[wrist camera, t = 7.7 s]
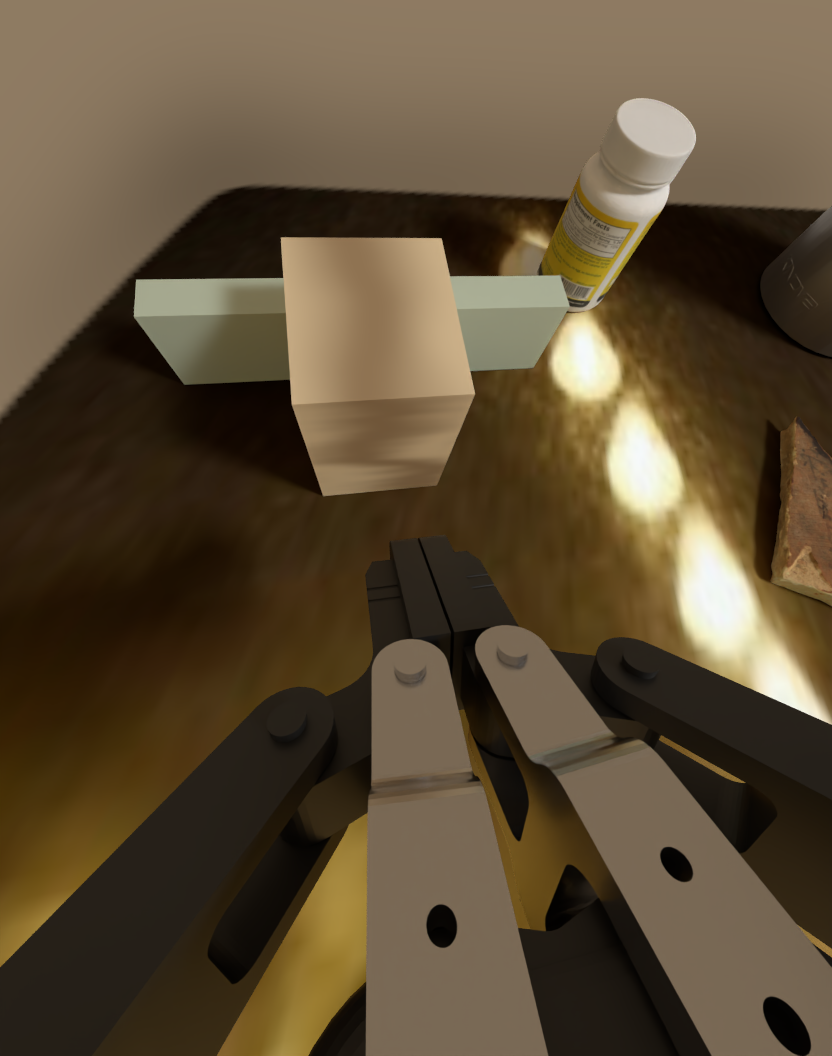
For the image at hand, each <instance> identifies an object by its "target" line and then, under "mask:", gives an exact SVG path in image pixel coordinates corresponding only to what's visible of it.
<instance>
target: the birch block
mask: <svg viewBox="0 0 832 1056" xmlns="http://www.w3.org/2000/svg"><path fill="white" fill-rule="evenodd" d="M281 247H282V263H283V278H284V293H285V308H286V323H287V339H288V354H289V369H290V384H291V400H292V407H293V410H294V412H295V415H296V418H297V421H298V424H299V427H300V430H301V433H302V436H303V439H304V442H305V444H306V447H307V450H308V453H309V456H310V459H311V462H312V465H313V468H314V471H315V473H316V476H317V479H318V482H319V485H320V488H321V491H322V494H323V496H329V495H339V494H350V493H361V492H371V491H382V490H393V489H403V488H414V487H425V486H435V485H437V483H438V481H439V479H440V476H441V474H442V471H443V469H444V467H445V464H446V462H447V460H448V457H449V455H450V452H451V450H452V448H453V445H454V443H455V441H456V438H457V436H458V433H459V431H460V429H461V426H462V424H463V421H464V419H465V417H466V414H467V412H468V410H469V407H470V405H471V402H472V400H473V398H474V395H475V391H474V387H473V382H472V377H471V373H470V368H469V364H468V359H467V354H466V350H465V345H464V340H463V336H462V331H461V326H460V322H459V317H458V312H457V308H456V303H455V298H454V294H453V289H452V285H451V280H450V275H449V271H448V266H447V261H446V257H445V252H444V247H443V243H442V238H281Z"/></svg>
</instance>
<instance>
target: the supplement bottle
mask: <svg viewBox="0 0 832 1056" xmlns="http://www.w3.org/2000/svg"><path fill="white" fill-rule="evenodd" d="M695 142H696V134H695V130H694V128H693V126H692V124H691V123H690V122H689V120H688V119H687V118H686V117H685V116H684V115H683V114H682V113H681V112H679V111H678V110H677V109H675V108H674V107H672V106H670V105H668V104H666V103H663V102H661V101H658V100H653V99H647V98H638V99H632V100H629V101H626V102H625V103H623V104H622V105H621V106H620V107H619V108H618V110H617V112H616V113H615V116H614V118H613V120H612V122H611V124H610V126H609V128H608V130H607V132H606V133H605V135H604V137H603V140H602V143H601V146H600V151H599V152H597V153H595V154H594V155H593V156H592V157H591V158H590V159H589V160H588V161H587V162H586V164H585V165H584V167H583V169H582V171H581V173H580V176H579V178H578V180H577V182H576V184H575V186H574V189H573V191H572V194H571V196H570V198H569V200H568V203H567V205H566V207H565V209H564V212H563V214H562V216H561V218H560V221H559V223H558V225H557V227H556V230H555V232H554V234H553V237H552V239H551V241H550V243H549V246H548V248H547V250H546V252H545V255H544V257H543V260H542V262H541V264H540V266H539V269H538V272H537V276H556V275H560V277H561V280H562V283H563V286H564V290H565V293H566V296H567V299H568V302H569V306H570V307H569V309H568V310H567V311H569V312H583V311H587V310H589V309H591V308H593V307H595V306H596V305H598V304H599V303H600V301H601V300H602V299H603V297H604V296H605V295H606V293H607V292H608V290H609V288H610V287H611V286H612V284H613V282H614V281H615V279H616V278H617V276H618V275H619V273H620V272H621V270H622V269H623V267H624V266H625V264H626V263H627V261H628V260H629V258H630V257H631V256H632V254H633V252H634V251H635V249H636V248H637V246H638V245H639V244H640V242H641V240H642V239H643V237H644V236H645V235H646V233H647V232H648V230H649V229H650V227H651V226H652V224H653V223H654V221H655V220H656V218H657V217H658V215H659V214H660V213H661V211H662V209H663V208H664V206H665V204H666V201H667V199H668V195H669V184H670V183H671V182H672V181H673V179H674V177H675V176H676V175H677V173H678V172H679V170H680V168H681V167H682V165H683V164H684V162H685V161H686V159H687V157H688V156H689V154H690V153H691V151H692V149H693V148H694V145H695Z"/></svg>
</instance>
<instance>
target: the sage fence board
mask: <svg viewBox="0 0 832 1056" xmlns="http://www.w3.org/2000/svg"><path fill="white" fill-rule="evenodd" d="M450 280H451V285H452V289H453V294H454V298H455V303H456V308H457V312H458V317H459V322H460V326H461V331H462V336H463V340H464V345H465V350H466V354H467V359H468V364H469V368H470V371H480V370H501V369H522V368H533V367H534V366H535V364H536V362H537V361H538V359H539V357H540V356H541V354H542V352H543V351H544V349H545V347H546V346H547V344H548V342H549V341H550V339H551V337H552V336H553V334H554V332H555V331H556V329H557V327H558V325H559V324H560V322H561V320H562V319H563V317H564V315H565V314H566V312H567V310H568V309H569V307H570V306H569V302H568V299H567V296H566V293H565V290H564V286H563V283H562V280H561V277H560V275H556V276H459V277H450ZM134 318H135V319H136V320H137V322H138V323H139V324H140V326H141V327H142V328H143V330H144V331H145V332H146V334H147V335H148V336H149V338H150V339H151V340H152V342H153V343H154V345H155V346H156V347H157V349H158V350H159V351H160V353H161V354H162V355H163V357H164V358H165V359H166V361H167V362H168V363H169V365H170V366H171V367H172V369H173V370H174V371H175V373H176V374H177V376H178V377H179V378H180V380H181V381H182V382H183V384H184V385H189V384H210V383H231V382H251V381H272V380H290V369H289V354H288V339H287V323H286V308H285V293H284V278H264V279H166V280H136V292H135V307H134Z"/></svg>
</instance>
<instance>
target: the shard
mask: <svg viewBox="0 0 832 1056" xmlns="http://www.w3.org/2000/svg"><path fill="white" fill-rule="evenodd" d="M780 437H781V443H780V445H781V447H780V460H781V485H780V487H781V492H780V498H781V508H780V511H779V522H778V525H777V528H778V530H777V537H776V545H775V548H774V556H773V560H772V563H771V569H772V577H771V581H770V582H771V583H773V584H776V585H778V586H782V587H785V588H787V589H790V590H793V591H795V592H798V593H801V594H803V595H806V596H808V597H812V598H815V599H819V600H821V601H822V602H824V603H826V604H828V605H830V606H832V458H831V457H830V456H829V455H828V454H827V453H826V452H825V451H824V450H823V448H822V447H821V446H820V445H819V444H818V442H817V440H816V439H815V437H813V436H812V435H811V433H810V431H809V429H808V428H807V427H806V426H805V425H804V424H803V422H802V420H801V419H800V418H799V417H796V418H795V419H794V421H793V423H791V425H790V426H789V427H788V429H786V430H783V431H781V434H780Z"/></svg>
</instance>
